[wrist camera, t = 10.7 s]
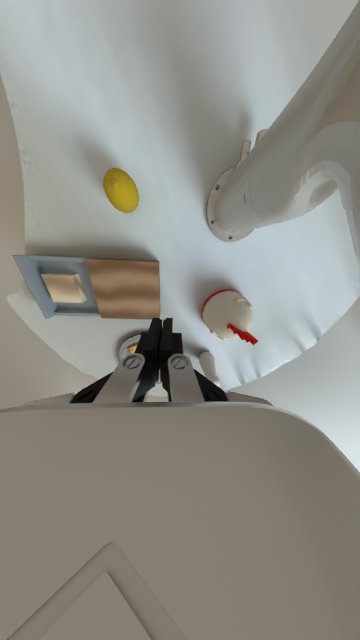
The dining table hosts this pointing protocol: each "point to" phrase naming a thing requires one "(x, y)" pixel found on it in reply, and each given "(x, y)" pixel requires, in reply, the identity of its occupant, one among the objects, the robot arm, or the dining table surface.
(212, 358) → the salt shaker
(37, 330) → the dining table surface
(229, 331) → the kitchen timer
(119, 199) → the lemon
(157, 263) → the wooden square board
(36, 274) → the box
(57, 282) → the tile
